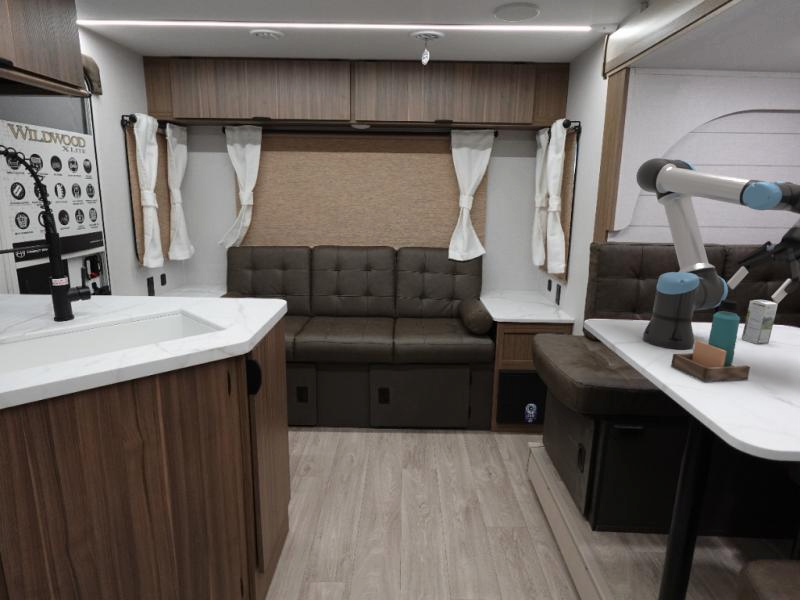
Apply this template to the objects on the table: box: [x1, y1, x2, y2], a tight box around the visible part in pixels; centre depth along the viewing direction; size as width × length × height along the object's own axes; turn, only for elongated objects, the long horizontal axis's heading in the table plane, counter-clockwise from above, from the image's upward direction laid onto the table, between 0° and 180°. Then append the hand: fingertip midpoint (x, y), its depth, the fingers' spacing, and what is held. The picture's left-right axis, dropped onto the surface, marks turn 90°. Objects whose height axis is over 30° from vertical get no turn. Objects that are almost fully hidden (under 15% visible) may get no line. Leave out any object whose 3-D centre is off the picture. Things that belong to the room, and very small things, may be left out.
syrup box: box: [741, 299, 779, 345], centre depth 168 cm, size 6×6×14 cm
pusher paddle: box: [692, 339, 727, 367], centre depth 136 cm, size 1×9×7 cm, turn 13°
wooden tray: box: [670, 352, 751, 383], centre depth 137 cm, size 14×12×4 cm
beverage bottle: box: [707, 299, 741, 367], centre depth 135 cm, size 6×7×20 cm
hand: (751, 293), depth 136 cm, fingers open, 13 cm apart
